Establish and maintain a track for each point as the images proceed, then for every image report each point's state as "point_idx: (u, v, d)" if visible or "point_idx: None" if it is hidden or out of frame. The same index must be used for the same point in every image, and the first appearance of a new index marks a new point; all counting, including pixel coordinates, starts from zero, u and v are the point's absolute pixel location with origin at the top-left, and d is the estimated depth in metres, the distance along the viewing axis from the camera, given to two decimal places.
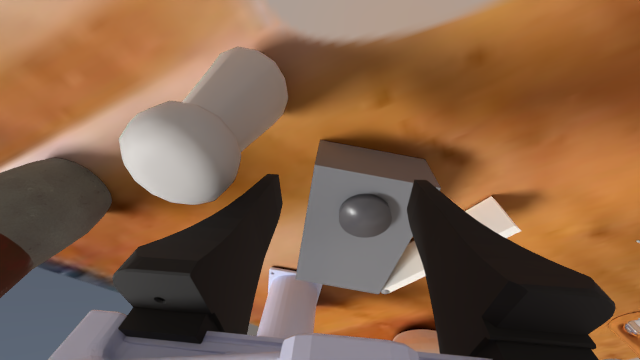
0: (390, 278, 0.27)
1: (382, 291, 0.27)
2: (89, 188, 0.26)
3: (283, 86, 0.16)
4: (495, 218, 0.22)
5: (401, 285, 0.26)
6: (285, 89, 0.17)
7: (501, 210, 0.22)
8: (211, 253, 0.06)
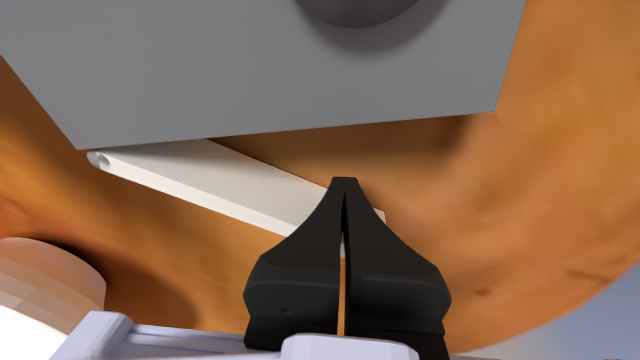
0: (145, 154, 0.11)
1: (93, 154, 0.10)
2: None
3: None
4: None
5: (149, 182, 0.11)
6: None
7: None
8: (339, 262, 0.06)
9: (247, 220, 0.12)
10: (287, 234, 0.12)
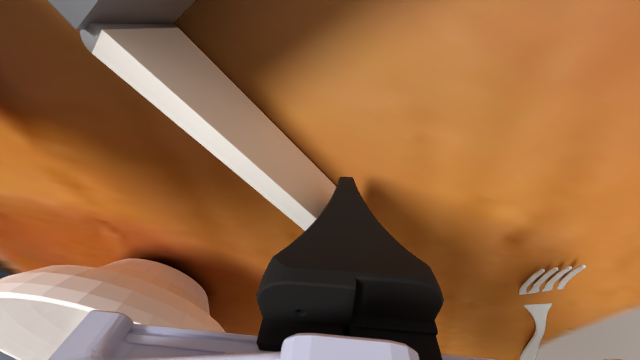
0: (161, 62, 0.09)
1: (93, 29, 0.07)
2: None
3: None
4: None
5: (156, 99, 0.08)
6: None
7: None
8: (353, 263, 0.06)
9: (255, 186, 0.10)
10: (291, 215, 0.11)
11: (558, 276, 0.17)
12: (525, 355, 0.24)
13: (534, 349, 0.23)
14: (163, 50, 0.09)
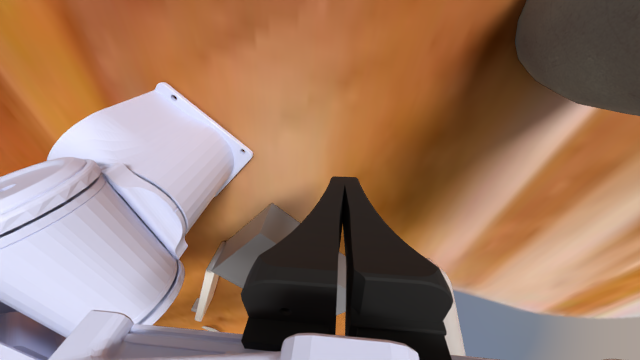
0: None
1: None
2: None
3: None
4: (206, 309, 0.37)
5: (206, 279, 0.29)
6: None
7: None
8: None
9: (201, 296, 0.31)
10: (199, 303, 0.33)
11: None
12: None
13: None
14: None
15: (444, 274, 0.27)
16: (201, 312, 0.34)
